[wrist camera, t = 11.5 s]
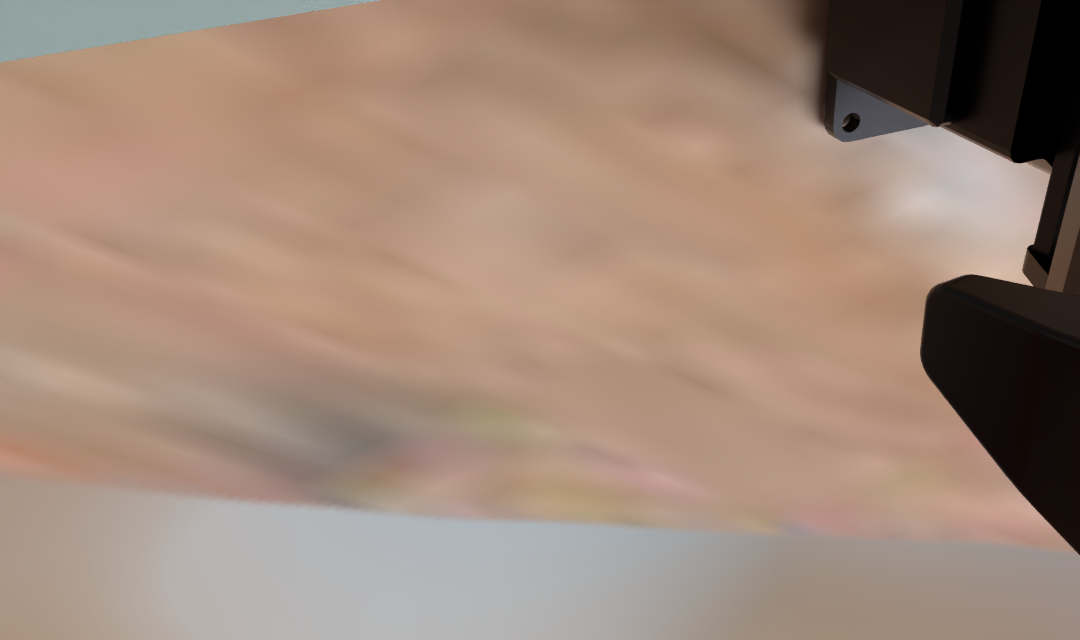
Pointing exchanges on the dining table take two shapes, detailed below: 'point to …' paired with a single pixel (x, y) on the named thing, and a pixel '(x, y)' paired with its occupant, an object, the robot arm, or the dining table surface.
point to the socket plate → (127, 20)
